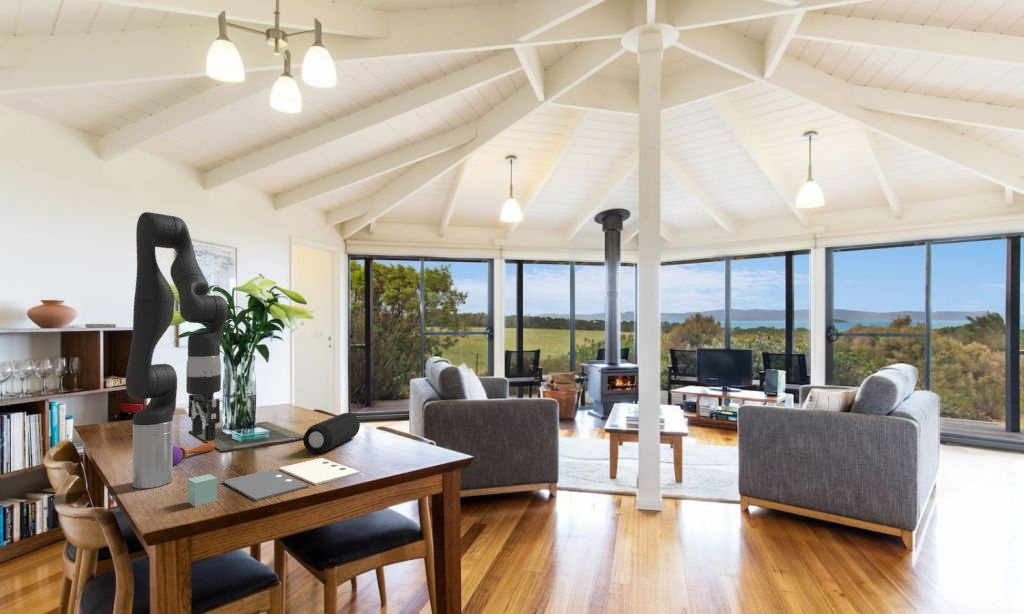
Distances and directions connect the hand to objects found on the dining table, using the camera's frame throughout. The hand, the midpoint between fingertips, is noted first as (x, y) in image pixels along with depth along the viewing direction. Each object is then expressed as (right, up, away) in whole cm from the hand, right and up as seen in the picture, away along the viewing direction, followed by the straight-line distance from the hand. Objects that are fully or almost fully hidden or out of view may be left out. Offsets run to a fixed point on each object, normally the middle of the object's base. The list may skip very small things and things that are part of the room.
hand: (203, 437), depth 130 cm
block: (0, -16, 0) cm, 16 cm away
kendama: (-28, -17, +39) cm, 51 cm away
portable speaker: (+14, -17, +55) cm, 59 cm away
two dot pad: (+10, -16, +12) cm, 23 cm away
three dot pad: (+20, -16, +25) cm, 36 cm away
